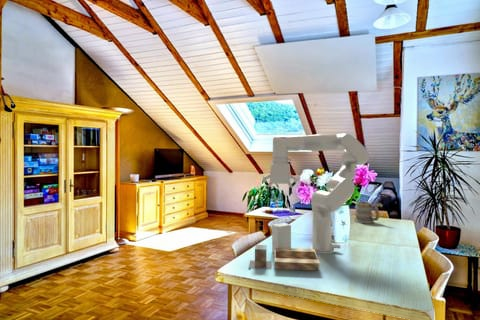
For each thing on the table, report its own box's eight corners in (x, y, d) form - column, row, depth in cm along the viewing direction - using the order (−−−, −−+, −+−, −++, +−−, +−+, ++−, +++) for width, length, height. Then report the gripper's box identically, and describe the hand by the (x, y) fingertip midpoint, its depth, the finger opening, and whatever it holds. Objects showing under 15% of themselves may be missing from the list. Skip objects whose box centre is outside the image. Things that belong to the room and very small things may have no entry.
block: (266, 262, 154) (266, 245, 153) (265, 267, 147) (266, 249, 146) (255, 261, 154) (255, 244, 154) (254, 266, 147) (254, 249, 147)
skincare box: (285, 250, 174) (285, 222, 173) (291, 253, 168) (291, 224, 168) (271, 252, 170) (271, 223, 170) (277, 255, 165) (277, 226, 164)
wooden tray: (314, 259, 160) (314, 248, 160) (319, 274, 140) (320, 263, 140) (274, 257, 162) (274, 247, 162) (274, 272, 142) (274, 261, 142)
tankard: (351, 221, 245) (351, 201, 245) (359, 218, 254) (359, 199, 253) (377, 226, 230) (378, 204, 230) (385, 223, 239) (386, 202, 239)
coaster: (271, 262, 155) (271, 261, 155) (271, 270, 145) (271, 268, 145) (250, 261, 156) (250, 260, 156) (248, 269, 146) (248, 267, 146)
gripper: (297, 160, 167) (297, 194, 167) (263, 160, 169) (262, 193, 169) (298, 161, 159) (298, 196, 160) (262, 161, 161) (262, 195, 162)
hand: (280, 195), depth 164 cm, fingers open, 9 cm apart
